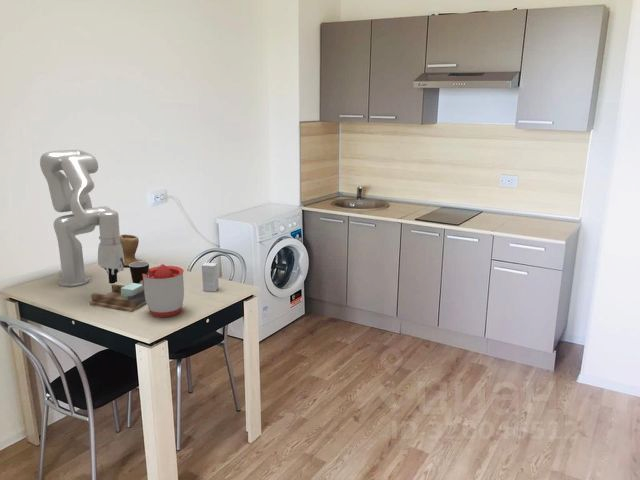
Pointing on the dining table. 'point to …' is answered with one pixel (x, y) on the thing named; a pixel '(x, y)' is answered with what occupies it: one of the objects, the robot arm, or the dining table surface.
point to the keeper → (130, 289)
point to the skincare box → (210, 276)
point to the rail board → (119, 299)
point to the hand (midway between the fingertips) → (113, 282)
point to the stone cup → (129, 248)
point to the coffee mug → (138, 270)
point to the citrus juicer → (164, 290)
